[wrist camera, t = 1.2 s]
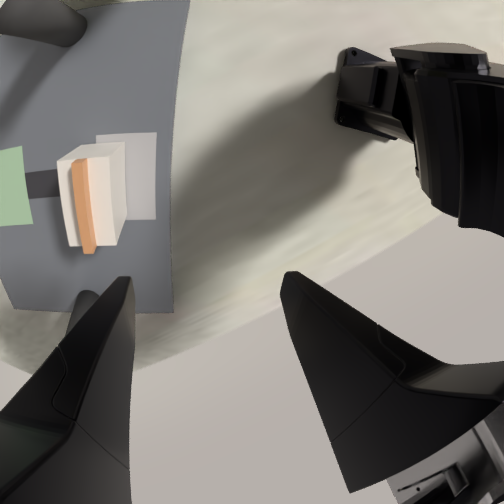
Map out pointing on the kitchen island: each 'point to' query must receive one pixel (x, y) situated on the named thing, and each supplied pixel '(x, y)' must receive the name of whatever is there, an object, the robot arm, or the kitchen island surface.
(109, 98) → the panel
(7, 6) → the cord post
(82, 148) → the orange striped block
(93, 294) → the cord post
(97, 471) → the robot arm
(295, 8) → the kitchen island surface
